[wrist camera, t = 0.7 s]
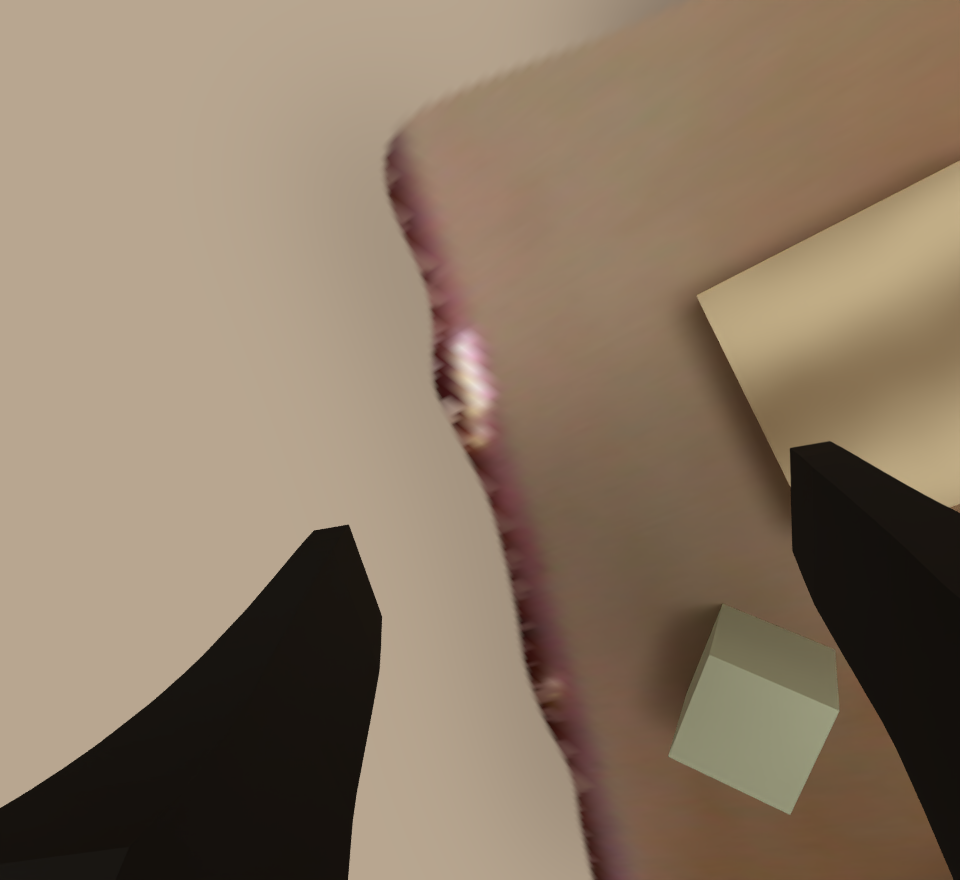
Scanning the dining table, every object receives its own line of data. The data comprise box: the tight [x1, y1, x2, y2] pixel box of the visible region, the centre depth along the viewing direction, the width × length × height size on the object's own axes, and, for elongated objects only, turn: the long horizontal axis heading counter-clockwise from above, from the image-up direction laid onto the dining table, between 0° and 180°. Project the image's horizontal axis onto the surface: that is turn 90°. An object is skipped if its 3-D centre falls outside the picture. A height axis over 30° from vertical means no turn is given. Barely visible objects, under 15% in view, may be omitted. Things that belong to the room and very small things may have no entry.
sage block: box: [668, 604, 839, 815], centre depth 31 cm, size 5×5×5 cm
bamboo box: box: [696, 161, 960, 507], centre depth 28 cm, size 10×10×4 cm
